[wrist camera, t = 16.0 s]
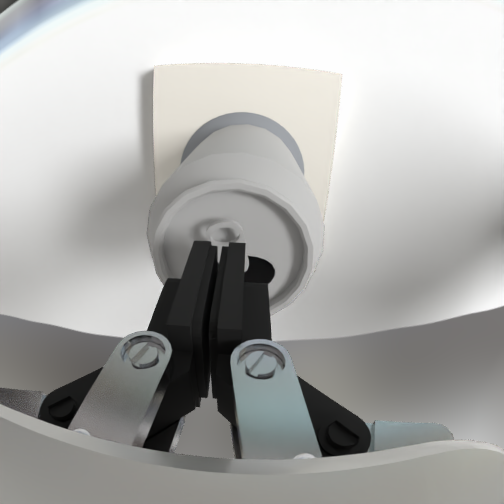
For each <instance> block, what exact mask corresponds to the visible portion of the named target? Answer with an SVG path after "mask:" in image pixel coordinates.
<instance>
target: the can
mask: <svg viewBox="0 0 504 504" xmlns="http://www.w3.org/2000/svg"><path fill="white" fill-rule="evenodd" d="M324 228H325V226H324V222H323V219H322V215H321V212H320V209H319V205H318V202H317V199H316V198H315V196H314V194H313V192H312V190H311V188H310V186H309V184H308V182H307V181H306V179H305V177H304V175H303V173H302V171H301V169H300V168H299V166H298V164H297V162H296V160H295V159H294V157H293V155H292V153H291V152H290V150H289V149H288V148H287V146H286V145H285V144H284V143H283V141H282V140H281V139H280V138H279V137H277V136H276V135H274V134H273V133H271V132H270V131H268V130H266V129H264V128H260V127H257V126H253V125H249V124H245V125H230V126H227V127H225V128H222V129H220V130H217V131H215V132H213V133H212V134H211V135H209V136H208V137H207V138H206V139H205V140H204V141H202V142H201V143H200V144H199V145H198V146H197V147H196V148H195V149H194V151H193V152H192V153H191V154H190V155H189V156H188V157H187V158H186V159H185V160H184V161H183V162H182V163H181V165H180V166H179V167H178V168H177V169H176V170H175V171H174V172H173V173H172V175H171V176H170V177H169V178H168V179H167V180H166V181H165V183H164V184H163V185H162V187H161V188H160V190H159V192H158V194H157V196H156V198H155V200H154V202H153V204H152V206H151V208H150V212H149V220H148V228H147V236H148V241H149V246H150V250H151V254H152V258H153V262H154V266H155V270H156V274H157V275H158V277H159V279H160V280H161V282H162V283H163V285H165V282H166V280H167V279H168V278H179V279H181V277H182V274H183V271H184V268H185V265H186V262H187V259H188V256H189V254H190V251H191V248H192V245H193V242H194V241H211V244H212V246H217V248H218V267H219V262H220V256H221V250H222V246H229V242H237V243H246V247H245V270H244V282H251V283H268V291H269V306H270V316H271V315H273V314H275V313H276V312H278V311H280V310H282V309H283V308H285V307H287V306H288V305H290V304H291V303H292V302H293V301H294V300H295V299H296V298H297V297H298V296H299V295H300V293H301V292H302V291H303V290H304V289H305V288H306V286H307V284H308V281H309V279H310V277H311V275H312V274H313V273H314V270H315V268H316V266H317V263H318V261H319V259H320V257H321V254H322V252H323V243H324Z"/></svg>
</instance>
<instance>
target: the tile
mask: <svg viewBox="0 0 504 504" xmlns="http://www.w3.org/2000/svg"><path fill="white" fill-rule="evenodd" d="M341 83H342V74H339V73H333V72H327V71H320V70H313V69H305V68H297V67H287V66H276V65H262V64H241V63H192V64H171V65H157V66H154V78H153V144H154V171H155V190H156V196H157V194H158V192H159V190H160V188H161V187H162V185H163V184H164V183H165V181H166V180H167V179H168V178H169V177H170V176H171V175H172V173H173V172H174V171H175V170H176V169H177V168H178V167H179V166H180V165H181V163H182V162H183V161H184V160H185V159H186V158H187V157H188V156H189V155H190V154H191V153H192V152H193V151H194V149H195V148H196V147H197V146H198V145H199V144H200V143H201V142H202V141H204V140H205V139H206V138H207V137H208V136H209V135H211V134H212V133H213V132H215V131H217V130H220V129H222V128H225V127H227V126H230V125H245V124H249V125H253V126H257V127H260V128H264V129H266V130H268V131H270V132H271V133H273V134H274V135H276V136H277V137H279V138H280V139H281V140H282V141H283V143H284V144H285V145H286V146H287V148H288V149H289V150H290V152H291V153H292V155H293V157H294V159H295V160H296V162H297V164H298V166H299V168H300V169H301V171H302V173H303V175H304V177H305V179H306V181H307V182H308V184H309V186H310V188H311V190H312V192H313V194H314V196H315V198H316V199H317V202H318V205H319V209H320V212H321V215H322V219H323V222H324V217H325V211H326V205H327V199H328V192H329V185H330V178H331V171H332V164H333V156H334V149H335V140H336V132H337V123H338V114H339V105H340V94H341ZM314 272H315V270H314Z"/></svg>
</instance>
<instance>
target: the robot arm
mask: <svg viewBox="0 0 504 504" xmlns="http://www.w3.org/2000/svg"><path fill="white" fill-rule="evenodd" d="M245 247H246V243H237V242H229V246H222V250H221V256H220V262H219V267H218V248H217V246H212V244H211V241H194V242H193V245H192V248H191V251H190V254H189V256H188V259H187V262H186V265H185V268H184V271H183V274H182V277H181V279H179V278H168V279H167V280H166V282H165V285H164V287H163V290H162V292H161V295H160V297H159V300H158V303H157V305H156V308H155V311H154V313H153V316H152V319H151V321H150V324H149V327H148V329H147V331H140V332H135V333H132V334H129V335H128V336H126V337H125V338H123V339H122V340H121V341H120V342H119V343H118V345H117V346H116V348H115V349H114V351H113V353H112V354H111V356H110V358H109V359H108V361H107V363H106V364H105V366H104V367H102V368H100V369H98V370H96V371H94V372H92V373H90V374H88V375H86V376H84V377H81V378H79V379H77V380H75V381H73V382H72V383H69V384H67V385H65V386H63V387H60V388H58V389H56V390H54V391H53V392H51V393H50V394H48V395H45V394H44V392H41V391H29V390H18V389H9V388H0V504H504V449H502V448H500V447H498V446H497V445H494V444H491V443H486V442H481V441H474V440H454V437H453V434H452V433H451V432H450V430H449V429H448V428H447V427H445V426H443V425H442V424H437V423H414V422H392V421H379V420H375V421H374V423H365V422H364V421H363V420H361V419H360V418H359V417H358V416H356V415H355V414H353V413H352V412H350V411H349V410H347V409H346V408H344V407H342V406H341V405H339V404H338V403H336V402H335V401H333V400H332V399H330V398H329V397H327V396H326V395H324V394H323V393H321V392H320V391H318V390H317V389H316V388H314V387H313V386H311V385H309V384H308V383H307V382H305V381H304V380H303V379H301V378H300V377H298V376H297V374H296V371H295V368H294V365H293V362H292V359H291V357H290V355H289V353H288V351H287V350H286V349H285V348H284V347H283V346H281V345H280V344H278V343H276V342H274V341H272V338H271V322H270V306H269V291H268V283H251V282H244V270H245ZM210 374H211V381H212V394H213V398H215V399H217V403H218V404H217V405H218V411H219V412H220V413H221V414H222V415H223V416H224V417H225V418H226V419H227V420H228V421H229V422H230V429H231V437H232V444H233V452H234V459H227V458H212V457H202V456H192V455H183V454H175V453H174V452H175V449H176V446H177V443H178V440H179V437H180V435H181V431H182V429H183V426H184V423H185V417H186V416H185V415H186V414H188V413H189V412H191V411H193V410H194V409H195V407H200V401H201V397H202V398H207V397H208V390H209V382H210Z"/></svg>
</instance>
